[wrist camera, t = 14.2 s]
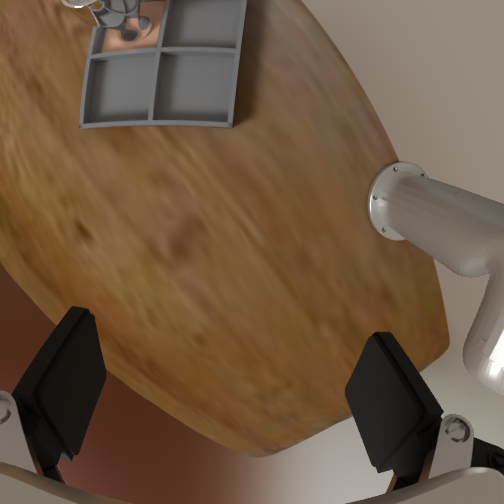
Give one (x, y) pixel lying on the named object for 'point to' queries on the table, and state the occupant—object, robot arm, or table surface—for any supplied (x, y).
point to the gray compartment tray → (167, 68)
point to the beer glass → (115, 17)
